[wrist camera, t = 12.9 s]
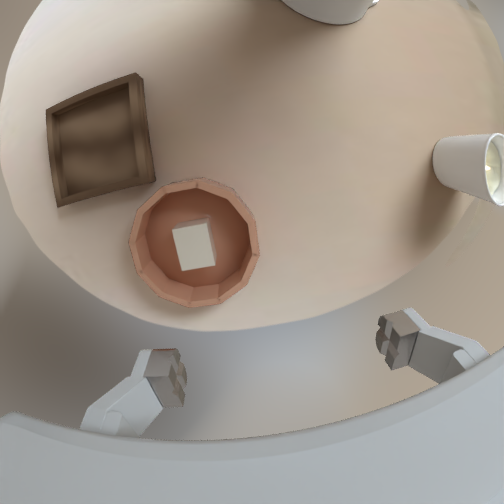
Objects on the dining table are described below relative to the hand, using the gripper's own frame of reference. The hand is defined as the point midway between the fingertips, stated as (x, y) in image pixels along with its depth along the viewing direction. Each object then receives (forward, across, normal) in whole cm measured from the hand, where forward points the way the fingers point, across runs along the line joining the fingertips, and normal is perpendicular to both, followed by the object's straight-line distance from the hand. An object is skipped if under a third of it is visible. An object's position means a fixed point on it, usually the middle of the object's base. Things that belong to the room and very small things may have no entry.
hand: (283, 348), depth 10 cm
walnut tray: (+26, +18, -12) cm, 34 cm away
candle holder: (+26, -33, -5) cm, 42 cm away
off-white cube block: (+24, +7, +3) cm, 25 cm away
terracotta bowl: (+25, +7, +3) cm, 26 cm away
